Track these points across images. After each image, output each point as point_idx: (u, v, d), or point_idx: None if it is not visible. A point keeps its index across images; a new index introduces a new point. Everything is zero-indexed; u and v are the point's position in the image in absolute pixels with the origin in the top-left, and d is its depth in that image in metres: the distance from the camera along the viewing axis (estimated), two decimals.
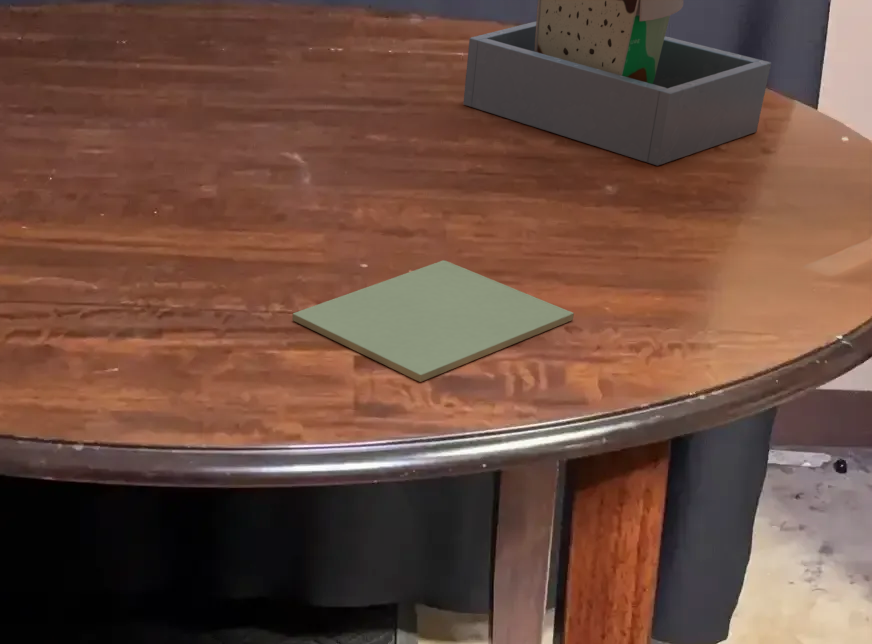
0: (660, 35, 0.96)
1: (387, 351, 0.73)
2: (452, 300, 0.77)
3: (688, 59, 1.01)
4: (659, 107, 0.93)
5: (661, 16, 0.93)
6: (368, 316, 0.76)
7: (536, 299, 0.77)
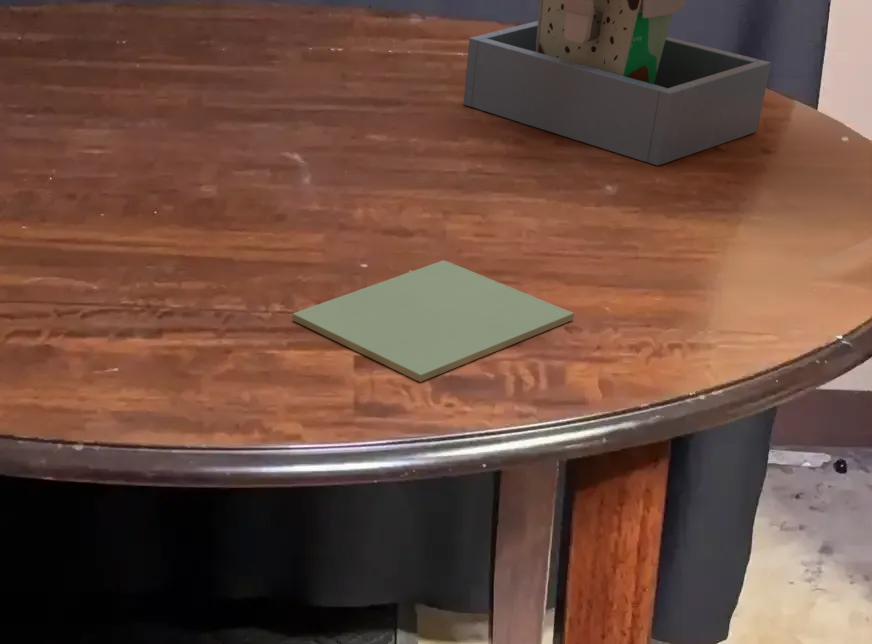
0: (662, 33, 0.96)
1: (387, 351, 0.73)
2: (452, 300, 0.77)
3: (688, 59, 1.01)
4: (659, 107, 0.93)
5: (664, 13, 0.93)
6: (368, 316, 0.76)
7: (536, 299, 0.77)
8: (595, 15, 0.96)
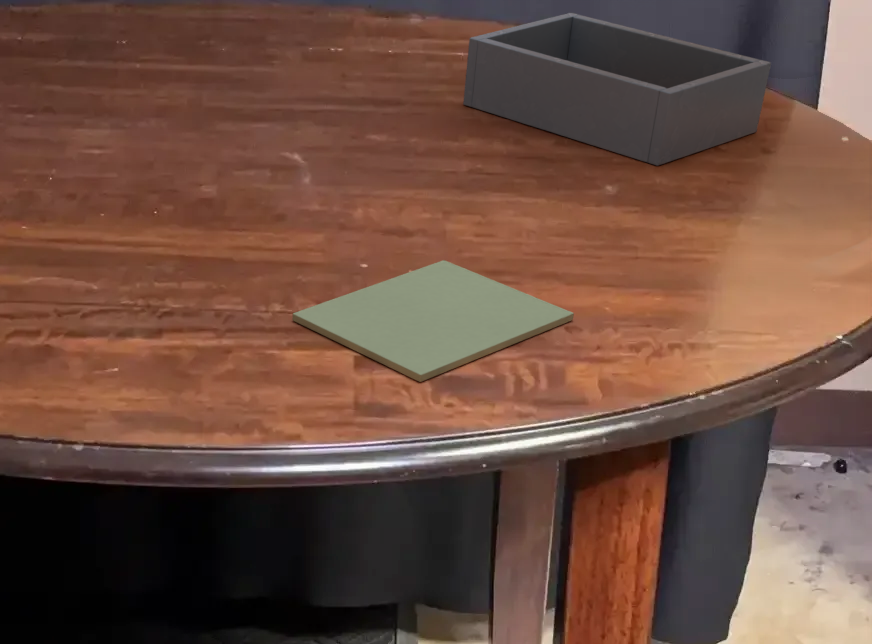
0: None
1: (387, 351, 0.73)
2: (452, 300, 0.77)
3: (688, 59, 1.01)
4: (659, 107, 0.93)
5: None
6: (368, 316, 0.76)
7: (536, 299, 0.77)
8: None
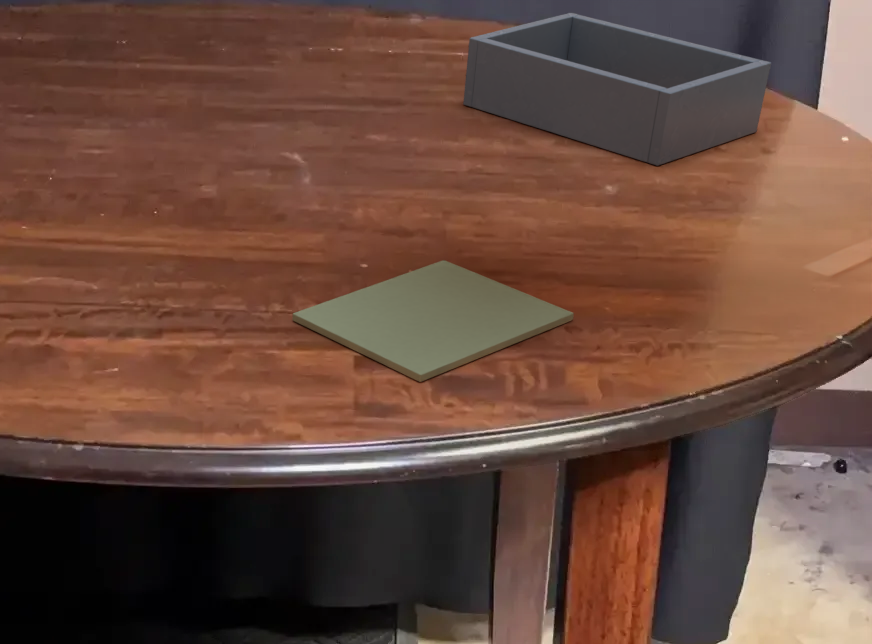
0: None
1: (387, 351, 0.73)
2: (452, 300, 0.77)
3: (688, 59, 1.01)
4: (659, 107, 0.93)
5: None
6: (368, 316, 0.76)
7: (536, 299, 0.77)
8: None
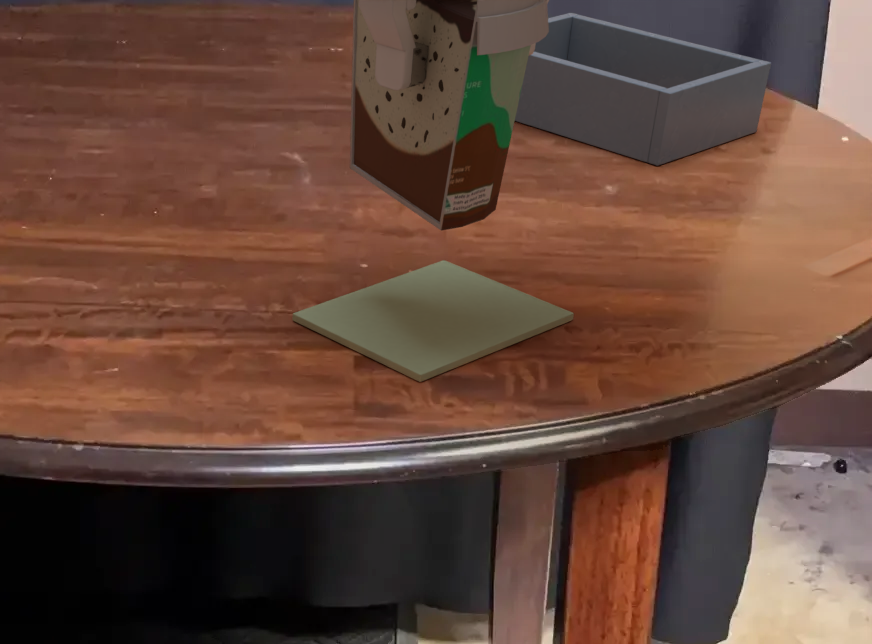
0: (514, 76, 0.66)
1: (387, 351, 0.73)
2: (452, 300, 0.77)
3: (688, 59, 1.01)
4: (659, 107, 0.93)
5: (510, 48, 0.63)
6: (368, 316, 0.76)
7: (536, 299, 0.77)
8: (416, 50, 0.66)
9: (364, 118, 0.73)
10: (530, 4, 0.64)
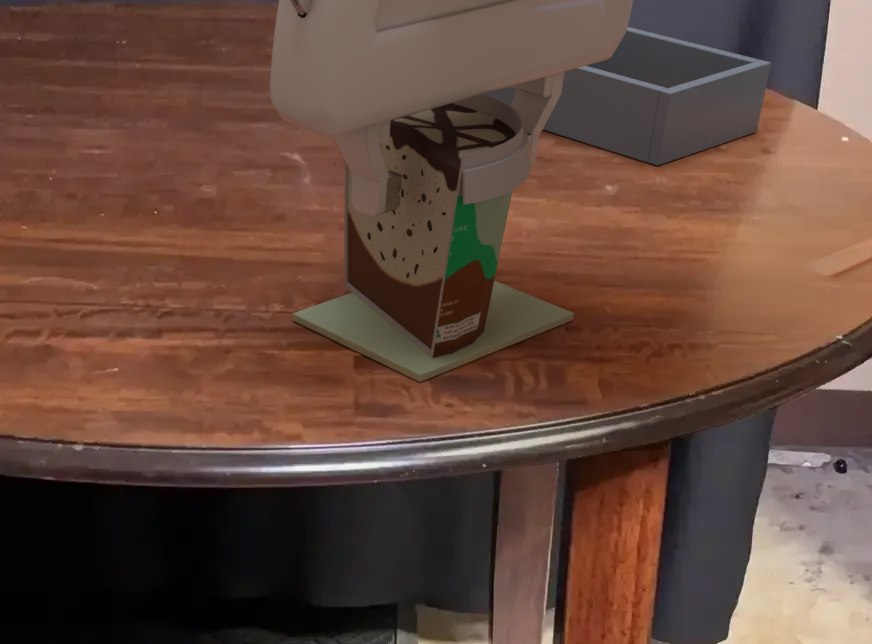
0: (498, 216, 0.69)
1: (387, 351, 0.73)
2: None
3: (688, 59, 1.01)
4: (659, 107, 0.93)
5: (494, 195, 0.67)
6: (368, 316, 0.76)
7: (536, 299, 0.77)
8: (390, 179, 0.68)
9: (357, 242, 0.77)
10: (512, 151, 0.67)
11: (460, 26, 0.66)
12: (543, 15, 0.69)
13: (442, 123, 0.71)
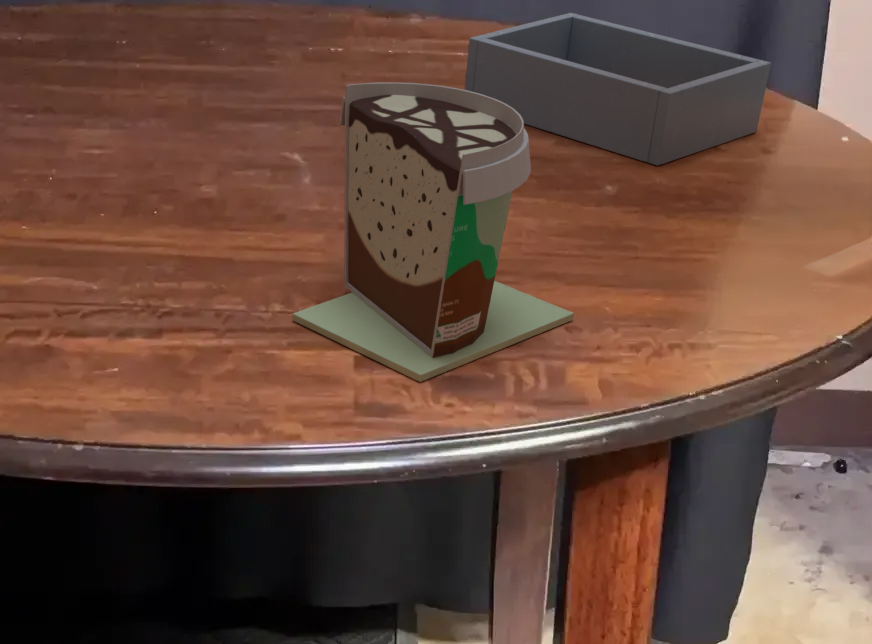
0: (499, 216, 0.69)
1: (387, 351, 0.73)
2: None
3: (688, 59, 1.01)
4: (659, 107, 0.93)
5: (495, 195, 0.67)
6: (368, 316, 0.76)
7: (536, 299, 0.77)
8: None
9: (357, 242, 0.77)
10: (512, 151, 0.67)
11: None
12: None
13: (442, 123, 0.71)
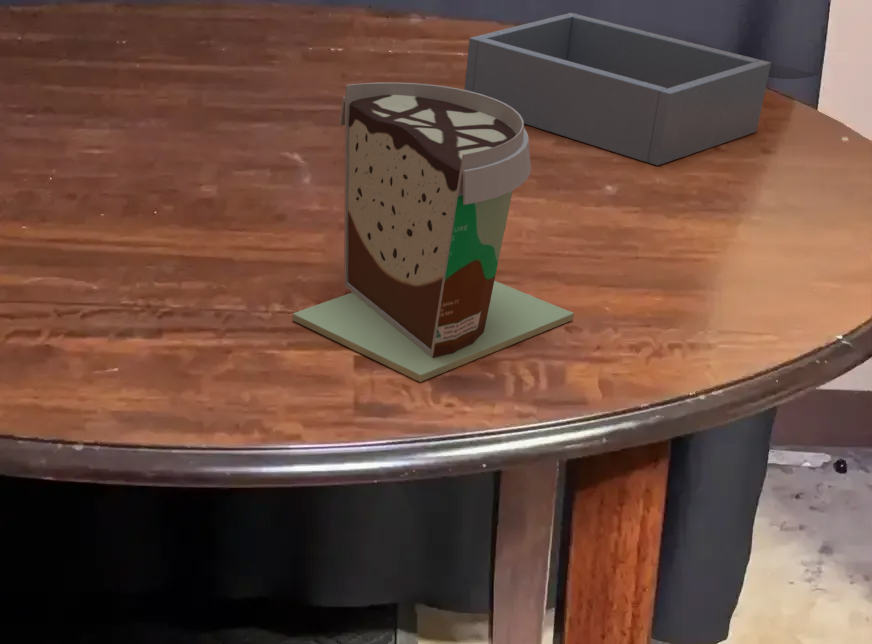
0: (499, 216, 0.69)
1: (387, 351, 0.73)
2: None
3: (688, 59, 1.01)
4: (659, 107, 0.93)
5: (495, 195, 0.67)
6: (368, 316, 0.76)
7: (536, 299, 0.77)
8: None
9: (357, 242, 0.77)
10: (512, 151, 0.67)
11: None
12: None
13: (442, 123, 0.71)
